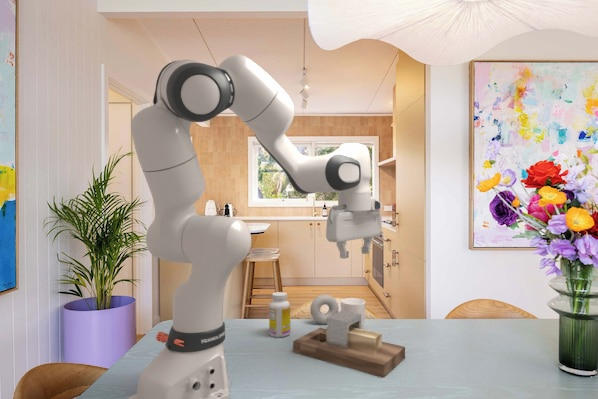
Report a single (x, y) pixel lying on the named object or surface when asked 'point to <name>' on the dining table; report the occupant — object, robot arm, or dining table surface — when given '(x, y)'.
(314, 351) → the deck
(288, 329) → the supplement bottle
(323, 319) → the donut
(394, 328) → the dining table surface
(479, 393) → the dining table surface
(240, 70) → the robot arm
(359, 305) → the white cup
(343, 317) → the tunnel
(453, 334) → the dining table surface
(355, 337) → the gold bar
